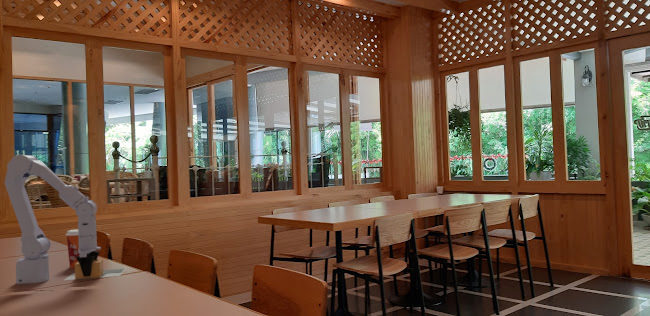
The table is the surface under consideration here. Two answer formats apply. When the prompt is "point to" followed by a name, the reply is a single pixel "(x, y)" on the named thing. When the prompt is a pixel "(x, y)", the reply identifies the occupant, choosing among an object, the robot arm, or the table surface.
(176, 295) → the table surface
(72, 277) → the board
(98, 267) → the block
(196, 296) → the table surface
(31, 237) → the robot arm
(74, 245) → the coffee cup
